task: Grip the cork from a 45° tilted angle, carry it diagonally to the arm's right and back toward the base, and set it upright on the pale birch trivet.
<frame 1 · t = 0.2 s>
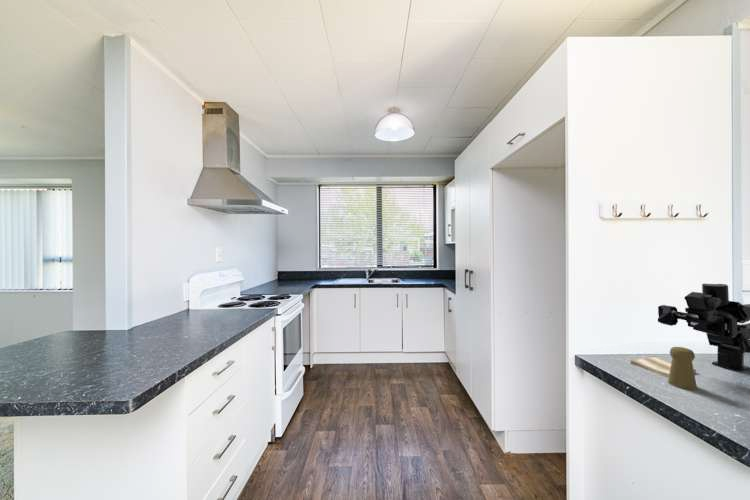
hand: (675, 323, 96), 17 cm above the worktop, tool horizontal, fingers open, 9 cm apart
birch trivet: (661, 367, 102), on the worktop
cork: (682, 385, 90), on the worktop
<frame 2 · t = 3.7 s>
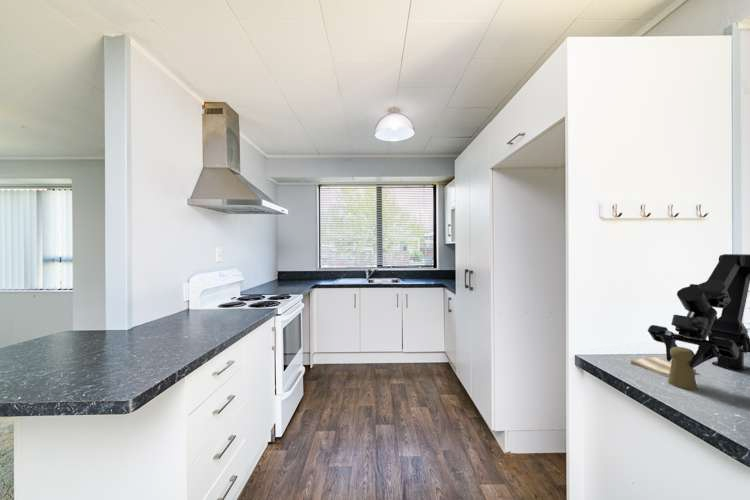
hand: (679, 363, 90), 7 cm above the worktop, tool tilted 45°, fingers closed on cork, 5 cm apart
cork: (682, 385, 90), on the worktop, touching gripper
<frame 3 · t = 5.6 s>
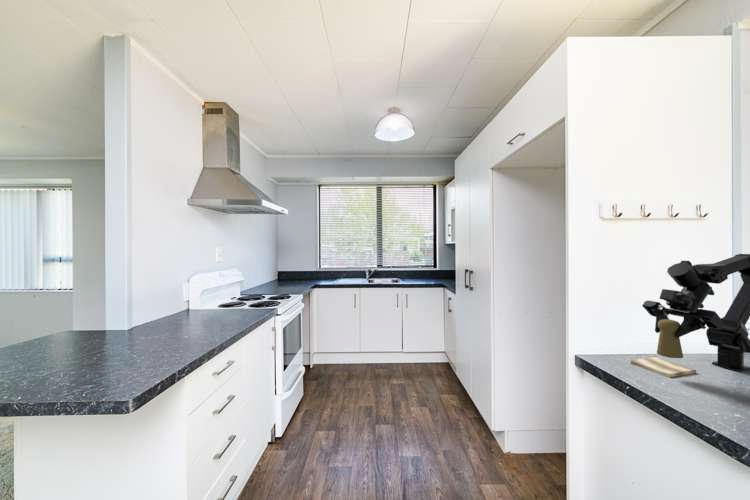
hand: (665, 334, 96), 13 cm above the worktop, tool tilted 45°, fingers closed on cork, 5 cm apart
cork: (669, 355, 96), point 7 cm above the worktop, touching gripper
when the fingers open (8 cm above the worktop, at t = 7.7 s): cork stays where it is, resting on birch trivet.
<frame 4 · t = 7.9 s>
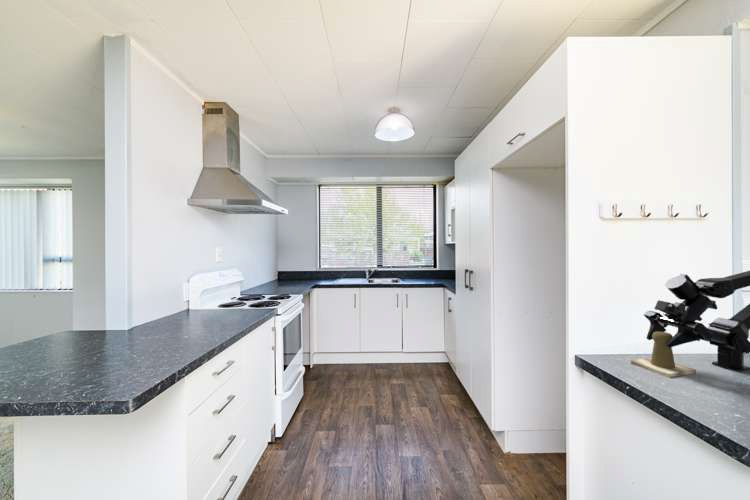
hand: (657, 342, 102), 9 cm above the worktop, tool tilted 45°, fingers open, 7 cm apart
cork: (662, 365, 102), point 1 cm above the worktop, touching birch trivet
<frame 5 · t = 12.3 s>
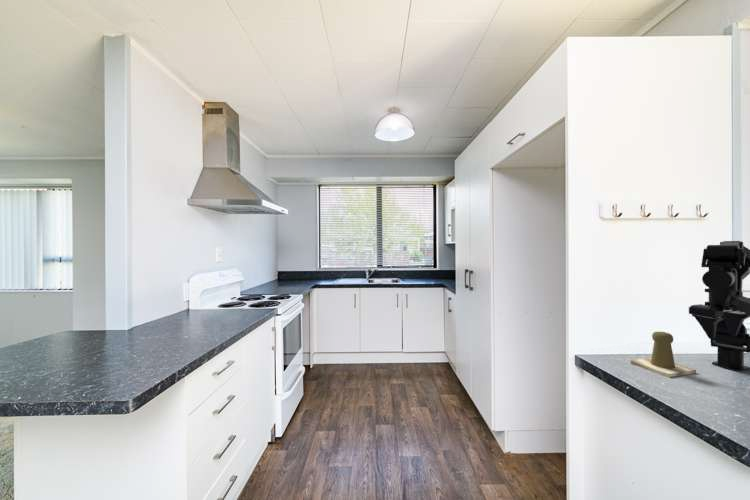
hand: (722, 337, 92), 13 cm above the worktop, tool pointing down, fingers open, 9 cm apart
nothing on the worktop moved.
at the end: cork inside the target area on the birch trivet (0.2 cm from its centre), point 0.8 cm above the birch trivet's base; cork tilted 0°; the gripper is holding nothing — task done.
